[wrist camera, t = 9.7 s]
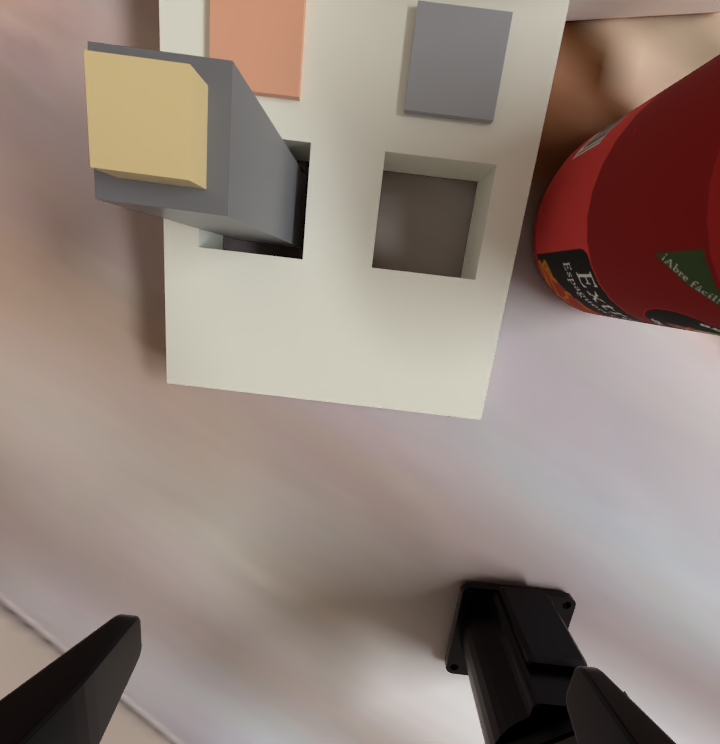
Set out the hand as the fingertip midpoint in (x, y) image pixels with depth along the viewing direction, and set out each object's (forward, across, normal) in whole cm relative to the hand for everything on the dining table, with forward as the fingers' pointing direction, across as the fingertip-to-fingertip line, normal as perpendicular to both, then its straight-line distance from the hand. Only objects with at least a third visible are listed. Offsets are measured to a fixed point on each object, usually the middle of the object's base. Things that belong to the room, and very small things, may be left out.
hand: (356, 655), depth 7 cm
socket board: (+12, +2, -10) cm, 16 cm away
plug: (+12, +5, -10) cm, 17 cm away
